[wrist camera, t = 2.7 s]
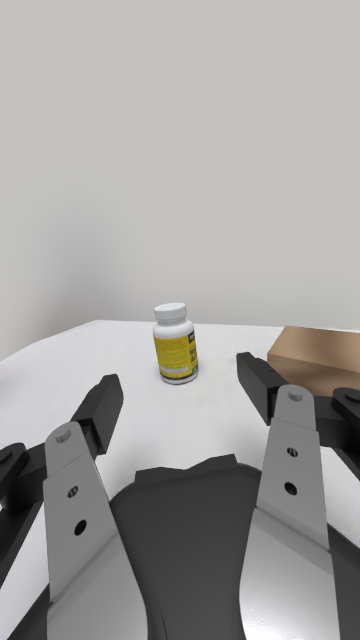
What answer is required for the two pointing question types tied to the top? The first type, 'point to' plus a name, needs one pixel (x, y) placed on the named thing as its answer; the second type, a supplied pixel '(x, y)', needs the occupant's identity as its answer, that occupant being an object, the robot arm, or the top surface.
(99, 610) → the robot arm
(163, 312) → the supplement bottle
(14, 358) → the top surface
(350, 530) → the top surface
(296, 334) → the plinth
